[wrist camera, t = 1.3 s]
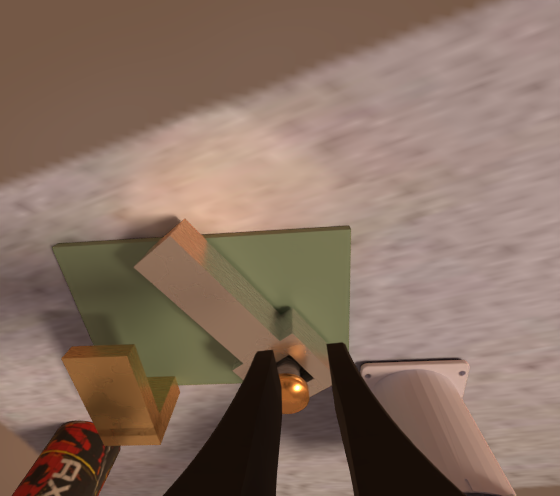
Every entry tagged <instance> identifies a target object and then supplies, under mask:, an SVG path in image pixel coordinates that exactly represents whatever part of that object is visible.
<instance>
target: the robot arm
mask: <svg viewBox="0 0 560 496" xmlns="http://www.w3.org/2000/svg"><path fill="white" fill-rule="evenodd" d="M326 345H327V352H328V360H329V367H330V375H331V382H332V389H333V396H334V403H335V410H336V414H337V419H338V423H339V427H340V432H341V436H342V440H343V444H344V449H345V453H346V457H347V462H348V466H349V470H350V475H351V480H352V485H353V491H354V496H517V495H516V494H515V492H514V490H513V488H512V486H511V485H510V483H509V481H508V479H507V478H506V476H505V474H504V472H503V471H502V469H501V467H500V465H499V463H498V462H497V460H496V458H495V456H494V455H493V453H492V451H491V449H490V448H489V446H488V444H487V442H486V440H485V439H484V437H483V435H482V433H481V432H480V430H479V428H478V426H477V425H476V423H475V421H474V419H473V417H472V416H471V414H470V412H469V410H468V409H467V407H466V405H465V403H464V402H463V400H462V397H463V393H464V389H465V385H466V381H467V376H468V372H469V368H470V366H469V364H468V363H467V361H465V360H445V361H416V362H388V363H366V364H363V365H362V366H361V371H360V373H359V371H358V369H357V367H356V366H355V364H354V362H353V360H352V358H351V356H350V354H349V352H348V350H347V347H346V344H344V343H343V342H339V343H330V344H326ZM366 374H368V375H366ZM281 422H282V387H281V382H280V378H279V373H278V369H277V365H276V360H275V356H274V352H273V350H264V351H257V353H256V354H255V356H254V358H253V361H252V363H251V365H250V368H249V370H248V372H247V374H246V376H245V378H244V380H243V382H242V384H241V386H240V388H239V390H238V392H237V394H236V396H235V397H234V399H233V401H232V403H231V404H230V406H229V408H228V409H227V411H226V413H225V415H224V416H223V418H222V420H221V421H220V423H219V424H218V426H217V427H216V429H215V430H214V432H213V433H212V435H211V436H210V438H209V439H208V441H207V442H206V443H205V445H204V446H203V448H202V449H201V450H200V452H199V453H198V454H197V455H196V457H195V458H194V459H193V461H192V462H191V463H190V465H189V466H188V467H187V468H186V470H185V471H184V472H183V473H182V474H181V476H180V477H179V478H178V479H177V480H176V481H175V482H174V484H173V485H172V486H171V487H170V488H169V489H168V490H167V491H166V493H165V494H164V495H163V496H276V481H277V468H278V457H279V445H280V434H281Z"/></svg>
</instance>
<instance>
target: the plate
mask: <svg viewBox="0 0 560 496" xmlns="http://www.w3.org/2000/svg"><path fill="white" fill-rule="evenodd" d="M202 236H203V237H204V238H205V239H206V240H207V241H208V242H209V243H210V244H211V245H212V246H213V247H214V248H215V249H216V250H217V251H218V252H219V253H220V254H221V255H222V256H223V257H224V258H225V259H226V260H227V261H228V262H229V263H230V264H231V265H232V266H233V267H234V268H235V269H236V270H237V271H238V272H239V273H240V274H241V275H242V276H243V277H244V278H245V279H246V280H247V281H248V282H249V283H250V284H251V285H252V286H253V287H254V288H255V289H256V290H257V291H258V292H259V293H260V294H261V295H262V296H263V297H264V298H265V299H266V300H267V301H268V302H269V303H270V304H271V305H272V306H273V307H274V308H275V309H276V310H277V311H278V312H279V313H280V314H283V313H284V312H286V311H288V310H289V309H291V308H293V309H294V310H295V311H296V312H297V313H298V314H299V315H300V316H301V317H302V318H303V319H304V320H305V321H306V322H307V323H308V324H309V325H310V326H311V327H312V328H313V329H314V330H315V331H316V332H317V334H318V335H319V336H320V337H321V338H322V339H323V340H324V341H325V342H326V343H327V344H330V343H339V342H343V343H344V344H346V347H347V350H348V352H349V308H350V255H351V228H350V226H337V227H320V228H304V229H288V230H272V231H255V232H239V233H223V234H206V235H202ZM162 238H163V237H157V238H141V239H125V240H108V241H92V242H76V243H59V244H57V245H55V246H53V247H52V249H53V251H54V254H55V256H56V258H57V261H58V263H59V265H60V268H61V270H62V272H63V275H64V277H65V279H66V282H67V284H68V286H69V289H70V291H71V293H72V296H73V298H74V301H75V303H76V305H77V308H78V310H79V312H80V315H81V317H82V319H83V322H84V324H85V326H86V329H87V331H88V333H89V336H90V338H91V340H92V343H93V345H94V346H99V345H123V344H135V346H136V349H137V352H138V355H139V357H140V360H141V363H142V366H143V369H144V371H145V374H146V377H166V376H175V377H176V380H177V384H178V385H202V384H234V383H242V382H243V380H242V379H241V378H240V377H239V376H238V375H237V374H235V373H234V372H233V371H232V369H233V364H234V359H235V356H234V355H233V354H232V353H231V352H230V351H229V350H227V349H226V348H225V347H224V346H223V345H222V344H221V343H219V342H218V341H217V340H216V339H215V338H214V337H213V336H211V335H210V334H209V333H208V332H207V331H206V330H205V329H203V328H202V327H201V326H200V325H199V324H198V323H197V322H195V321H194V320H193V319H192V318H191V317H190V316H189V315H187V314H186V313H185V312H184V311H183V310H182V309H181V308H179V307H178V306H177V305H176V304H175V303H174V302H173V301H171V300H170V299H169V298H168V297H167V296H166V295H165V294H164V293H162V292H161V291H160V290H159V289H158V288H157V287H156V286H154V285H153V284H152V283H151V282H150V281H149V280H148V279H146V278H145V277H144V276H143V275H142V274H141V273H140V272H138V271H137V270H136V269H135V268H134V266H135V265H136V264H137V263H138V262H139V261H140V259H141V258H142V257H143V256H144V255H145V254H146V253H147V252H148V251H149V250H150V249H151V247H152V246H154V245H155V244H156V243H157V242H158V241H159V240H161V239H162Z"/></svg>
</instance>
